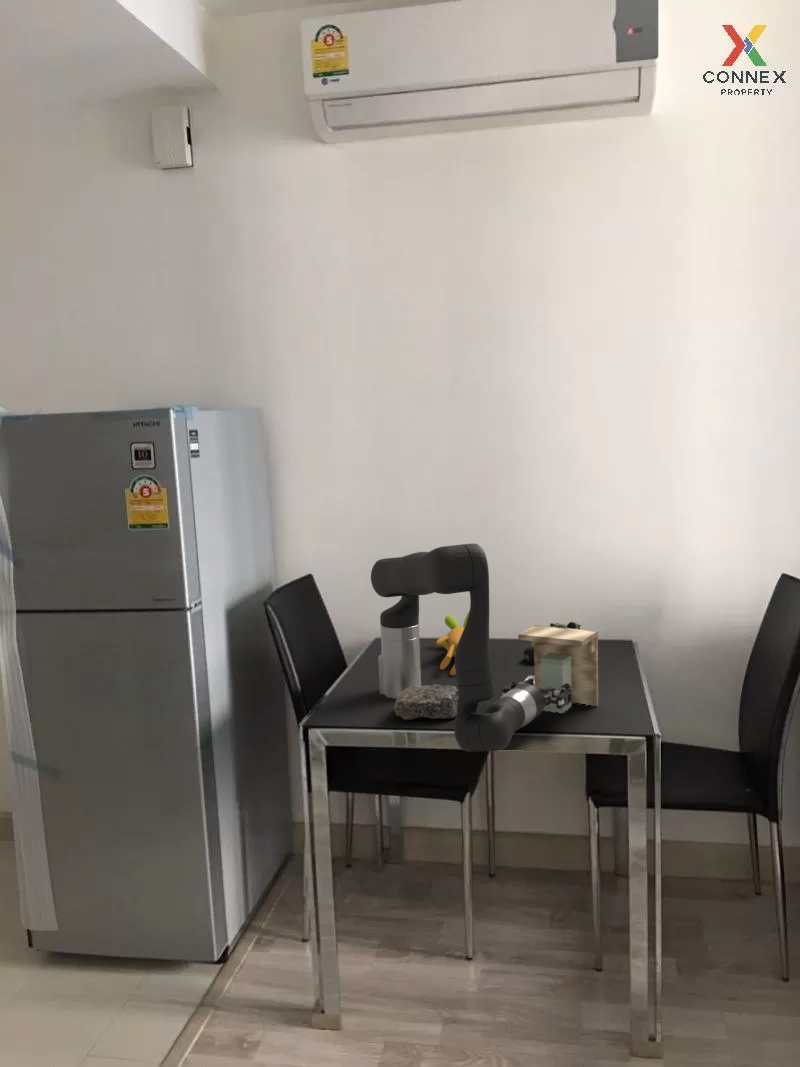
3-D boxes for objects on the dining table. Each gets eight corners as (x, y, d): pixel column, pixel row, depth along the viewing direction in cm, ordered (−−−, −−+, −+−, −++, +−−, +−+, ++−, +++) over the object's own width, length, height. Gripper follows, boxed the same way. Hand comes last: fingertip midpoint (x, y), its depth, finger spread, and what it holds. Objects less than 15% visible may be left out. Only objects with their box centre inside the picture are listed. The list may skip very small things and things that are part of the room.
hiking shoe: (514, 661, 244) (513, 627, 242) (567, 646, 257) (566, 614, 255) (537, 667, 237) (537, 633, 236) (590, 651, 250) (590, 618, 249)
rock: (466, 707, 208) (402, 707, 211) (464, 680, 207) (400, 679, 211) (456, 724, 195) (388, 723, 199) (454, 695, 195) (387, 695, 198)
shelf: (519, 708, 205) (518, 634, 202) (536, 696, 213) (535, 625, 210) (583, 718, 197) (582, 640, 194) (598, 705, 205) (597, 631, 202)
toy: (454, 704, 234) (470, 658, 263) (484, 663, 230) (496, 621, 258) (413, 677, 235) (433, 634, 263) (442, 636, 230) (459, 596, 258)
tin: (541, 710, 203) (540, 658, 201) (550, 703, 207) (549, 652, 206) (563, 713, 200) (562, 661, 198) (572, 706, 204) (571, 655, 203)
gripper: (551, 693, 182) (580, 672, 195) (487, 684, 189) (519, 664, 203) (551, 729, 183) (580, 706, 196) (488, 719, 190) (520, 697, 204)
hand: (549, 685), depth 200 cm, fingers open, 8 cm apart
